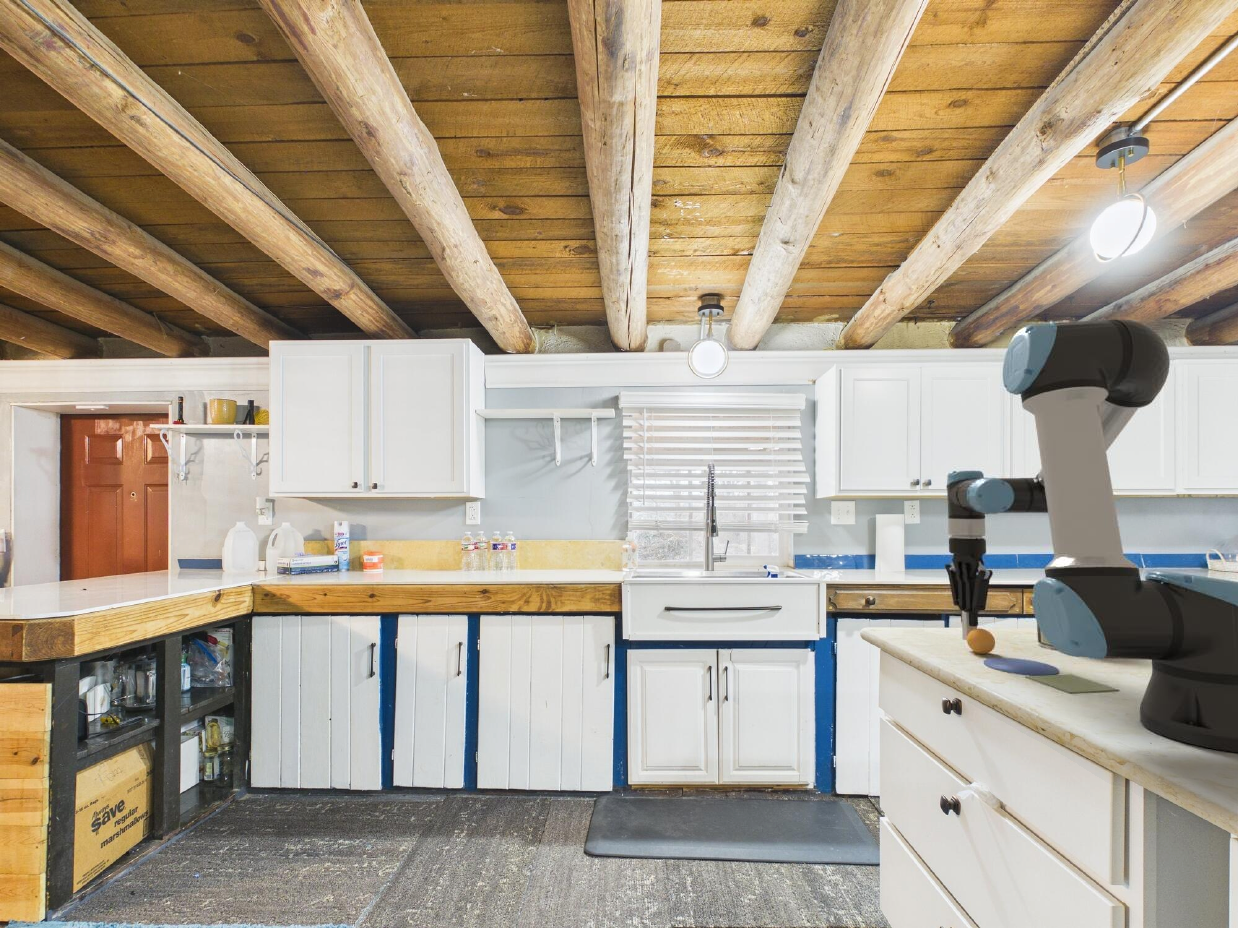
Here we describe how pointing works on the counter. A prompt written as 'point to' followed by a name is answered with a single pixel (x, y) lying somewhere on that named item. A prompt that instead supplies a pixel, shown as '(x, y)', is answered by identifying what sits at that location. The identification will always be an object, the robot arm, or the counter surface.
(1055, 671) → the disc
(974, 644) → the ball
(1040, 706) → the counter surface
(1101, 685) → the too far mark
